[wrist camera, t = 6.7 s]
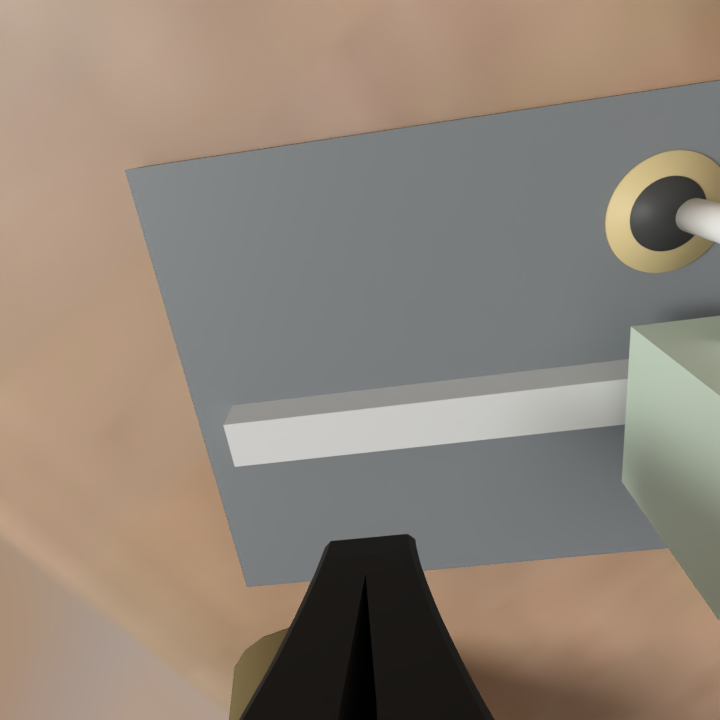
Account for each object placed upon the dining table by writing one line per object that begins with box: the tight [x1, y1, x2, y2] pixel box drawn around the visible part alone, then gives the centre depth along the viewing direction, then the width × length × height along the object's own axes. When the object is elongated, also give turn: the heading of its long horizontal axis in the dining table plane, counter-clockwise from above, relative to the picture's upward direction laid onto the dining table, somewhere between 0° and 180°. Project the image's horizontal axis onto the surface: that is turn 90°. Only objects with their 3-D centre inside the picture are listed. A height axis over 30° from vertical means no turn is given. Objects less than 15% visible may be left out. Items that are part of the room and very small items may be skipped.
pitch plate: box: [125, 80, 720, 587], centre depth 11 cm, size 12×22×6 cm, turn 98°
